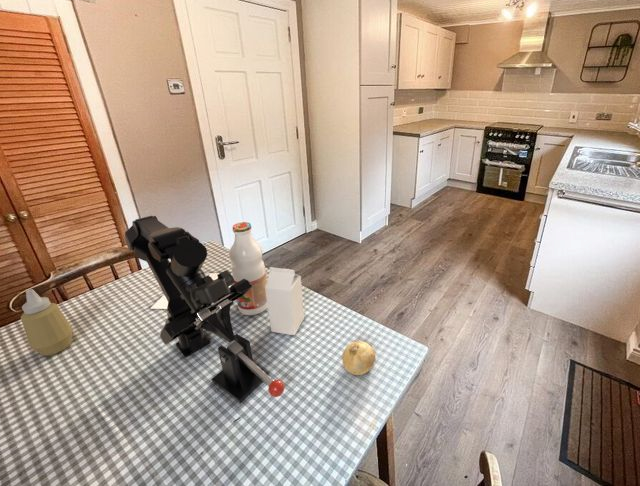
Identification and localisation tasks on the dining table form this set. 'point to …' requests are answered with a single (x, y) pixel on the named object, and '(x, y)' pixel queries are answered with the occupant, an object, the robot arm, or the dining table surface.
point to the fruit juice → (248, 269)
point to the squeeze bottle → (45, 325)
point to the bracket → (236, 372)
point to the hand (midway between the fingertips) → (232, 341)
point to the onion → (358, 358)
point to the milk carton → (284, 300)
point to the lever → (257, 370)
